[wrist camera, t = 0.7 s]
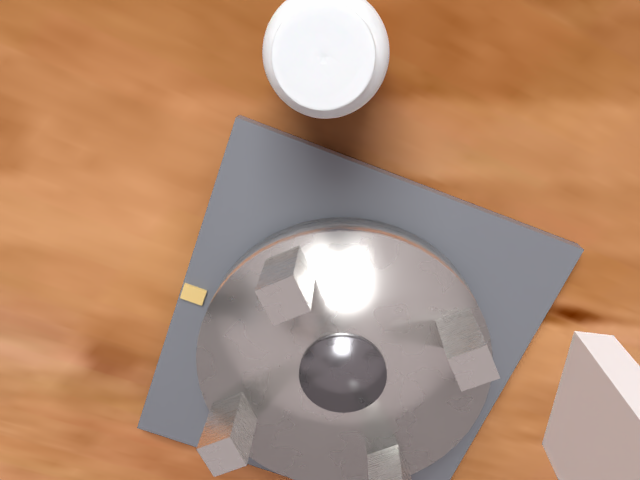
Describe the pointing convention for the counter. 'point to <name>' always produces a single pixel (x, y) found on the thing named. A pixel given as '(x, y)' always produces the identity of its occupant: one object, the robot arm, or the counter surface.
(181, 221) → the counter surface
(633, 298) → the counter surface
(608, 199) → the counter surface
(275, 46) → the pill bottle
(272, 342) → the grey shallow round piece
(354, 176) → the grey square plate
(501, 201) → the counter surface
